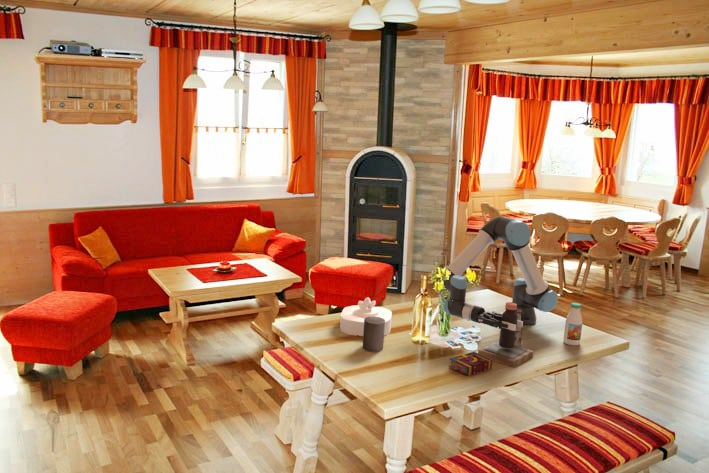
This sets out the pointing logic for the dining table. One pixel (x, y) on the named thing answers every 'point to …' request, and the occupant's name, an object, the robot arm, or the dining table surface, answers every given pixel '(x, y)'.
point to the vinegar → (505, 334)
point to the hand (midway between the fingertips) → (518, 326)
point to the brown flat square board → (505, 354)
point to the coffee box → (519, 329)
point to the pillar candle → (373, 334)
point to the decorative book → (470, 363)
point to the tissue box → (363, 317)
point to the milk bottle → (573, 325)
